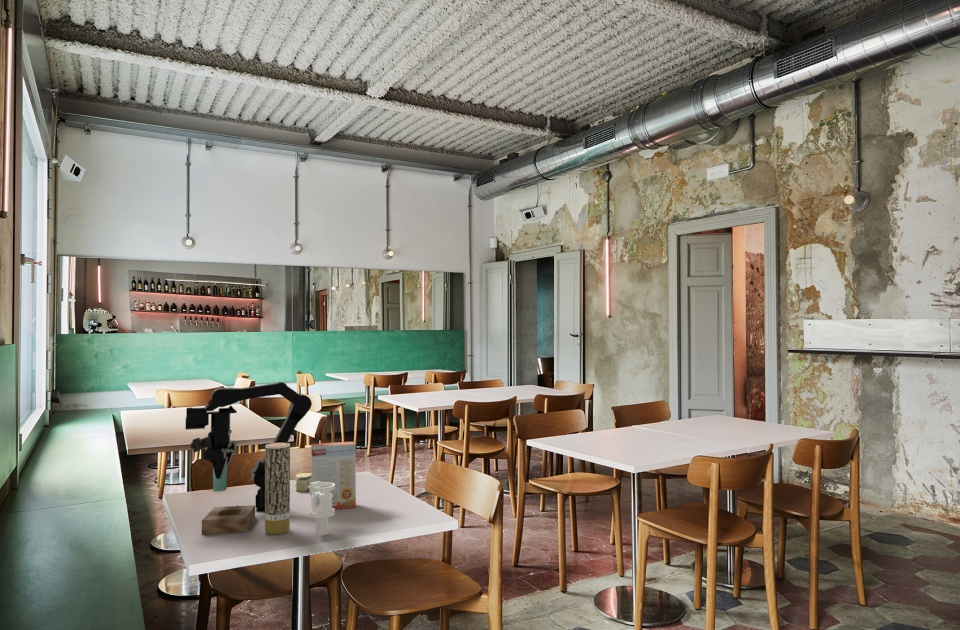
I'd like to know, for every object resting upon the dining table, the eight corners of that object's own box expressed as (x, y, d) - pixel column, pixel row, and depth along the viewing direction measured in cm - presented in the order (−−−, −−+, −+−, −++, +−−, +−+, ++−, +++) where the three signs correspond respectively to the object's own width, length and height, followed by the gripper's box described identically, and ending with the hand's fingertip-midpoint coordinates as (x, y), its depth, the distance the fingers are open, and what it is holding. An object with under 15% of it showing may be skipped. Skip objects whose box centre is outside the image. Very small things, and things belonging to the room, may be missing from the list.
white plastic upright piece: (305, 533, 185) (305, 480, 185) (328, 528, 189) (328, 477, 189) (315, 539, 179) (315, 485, 179) (339, 534, 183) (339, 481, 184)
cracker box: (353, 503, 217) (353, 440, 217) (356, 507, 211) (356, 443, 212) (310, 506, 213) (311, 443, 213) (311, 511, 207) (312, 446, 207)
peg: (227, 488, 207) (228, 456, 207) (224, 491, 203) (225, 459, 203) (214, 488, 207) (215, 457, 207) (211, 491, 203) (211, 459, 203)
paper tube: (260, 531, 186) (261, 444, 187) (282, 526, 191) (282, 441, 191) (271, 537, 181) (272, 447, 182) (293, 531, 186) (294, 444, 187)
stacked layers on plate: (312, 493, 231) (312, 478, 232) (287, 493, 232) (287, 477, 232) (320, 486, 241) (320, 472, 242) (296, 486, 242) (296, 471, 242)
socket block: (255, 518, 200) (255, 505, 200) (245, 532, 186) (245, 518, 186) (214, 520, 198) (214, 507, 198) (201, 534, 184) (201, 520, 184)
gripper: (202, 424, 213) (201, 471, 213) (184, 432, 195) (184, 484, 195) (237, 423, 215) (236, 470, 215) (223, 432, 197) (223, 483, 196)
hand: (220, 477), depth 205 cm, fingers closed on peg, 4 cm apart
